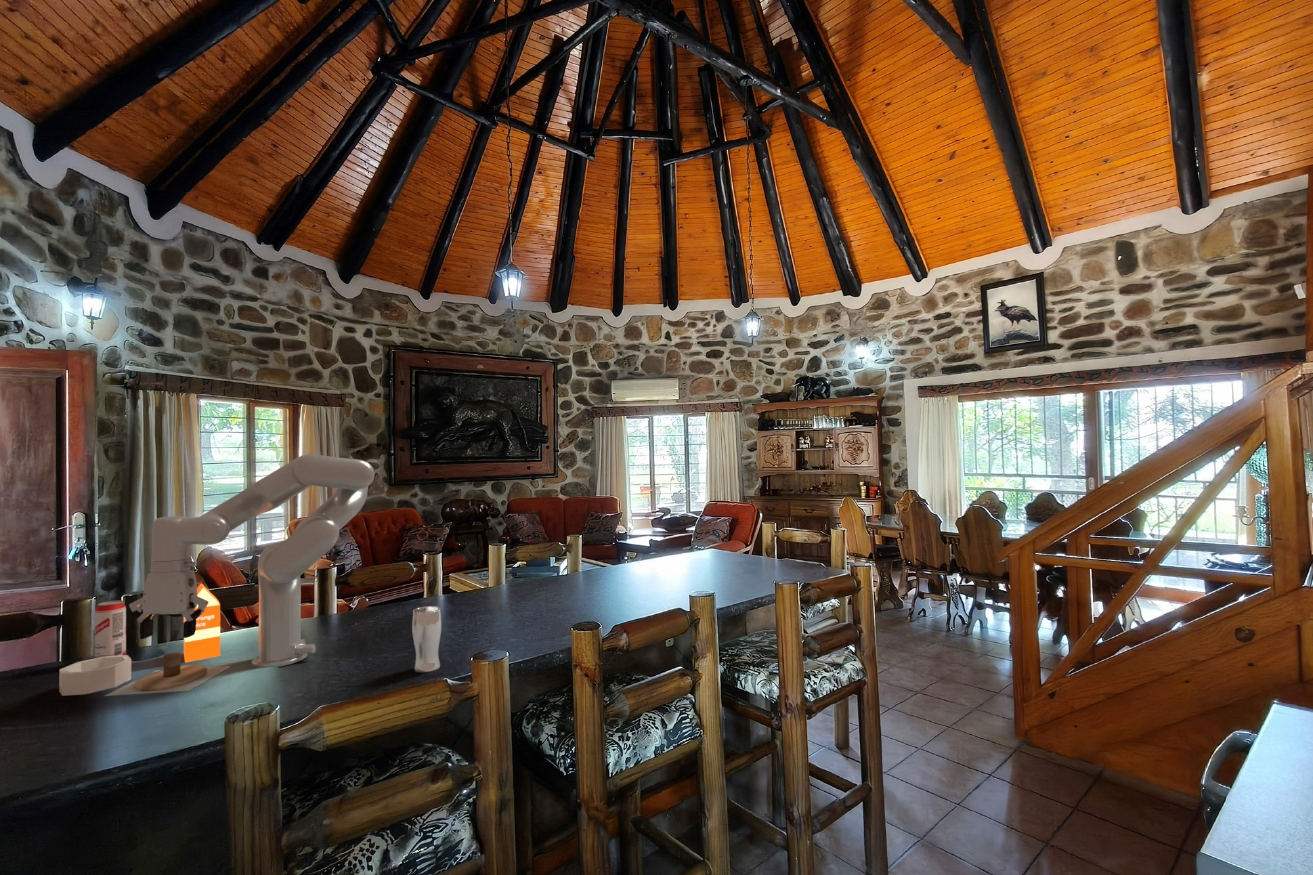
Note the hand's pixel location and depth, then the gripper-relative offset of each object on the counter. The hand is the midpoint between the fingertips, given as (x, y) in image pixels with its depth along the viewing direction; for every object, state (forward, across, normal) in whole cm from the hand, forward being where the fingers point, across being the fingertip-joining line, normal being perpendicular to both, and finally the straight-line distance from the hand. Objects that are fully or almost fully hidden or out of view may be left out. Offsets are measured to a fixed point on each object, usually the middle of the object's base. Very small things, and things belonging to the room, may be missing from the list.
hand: (167, 636), depth 142 cm
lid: (+11, -1, -1) cm, 11 cm away
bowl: (+12, +16, -1) cm, 20 cm away
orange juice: (+11, +4, -20) cm, 23 cm away
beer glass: (+10, -62, 0) cm, 63 cm away
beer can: (+12, +28, -21) cm, 37 cm away
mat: (+11, -1, -1) cm, 11 cm away
